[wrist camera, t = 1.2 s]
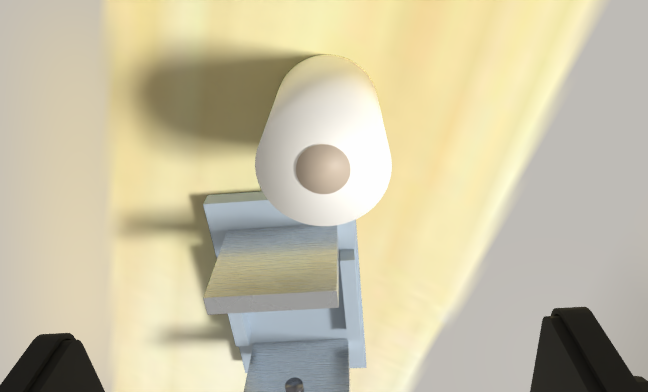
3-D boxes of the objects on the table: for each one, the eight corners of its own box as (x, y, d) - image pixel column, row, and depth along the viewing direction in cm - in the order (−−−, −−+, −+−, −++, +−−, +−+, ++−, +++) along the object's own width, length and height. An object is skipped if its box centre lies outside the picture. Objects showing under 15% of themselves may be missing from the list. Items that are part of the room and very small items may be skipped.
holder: (207, 195, 26) (198, 214, 25) (353, 185, 26) (354, 203, 24) (248, 360, 33) (242, 385, 31) (365, 355, 32) (367, 380, 31)
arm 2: (251, 333, 30) (235, 411, 25) (347, 329, 30) (349, 406, 25) (256, 353, 31) (241, 432, 26) (349, 349, 31) (351, 428, 26)
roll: (269, 59, 23) (243, 110, 17) (375, 50, 22) (389, 98, 16) (283, 155, 25) (265, 231, 19) (379, 148, 25) (393, 223, 19)
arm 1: (227, 229, 26) (203, 297, 22) (337, 222, 26) (336, 290, 21) (233, 256, 27) (211, 327, 22) (339, 250, 27) (339, 321, 22)
